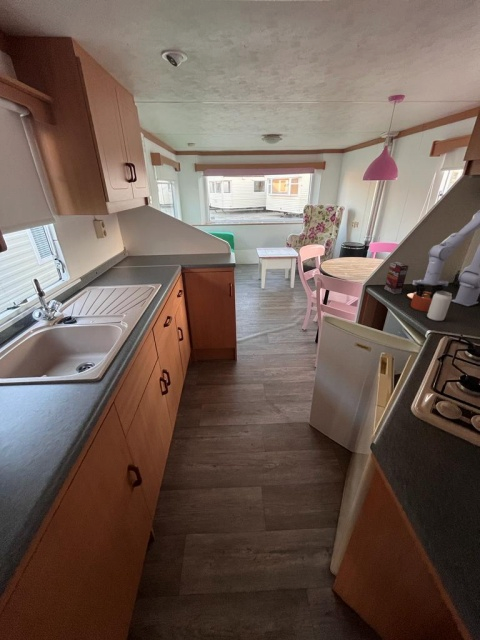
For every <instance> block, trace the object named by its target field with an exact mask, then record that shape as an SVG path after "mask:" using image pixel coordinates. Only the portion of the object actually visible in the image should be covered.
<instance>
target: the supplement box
mask: <svg viewBox="0 0 480 640" xmlns="http://www.w3.org/2000/svg"><path fill="white" fill-rule="evenodd" d="M408 270H409V265H407V264H406V263H402V262H399V261H391V262H390V264H389V268H388V272H387V277H386V279H385V285H384V288H383V289H384V290H385V291H388V292H389V293H392V294H393V295H399V294H402V291H403V288H404V284H405V280H406V277H407V273H408Z"/></svg>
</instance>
